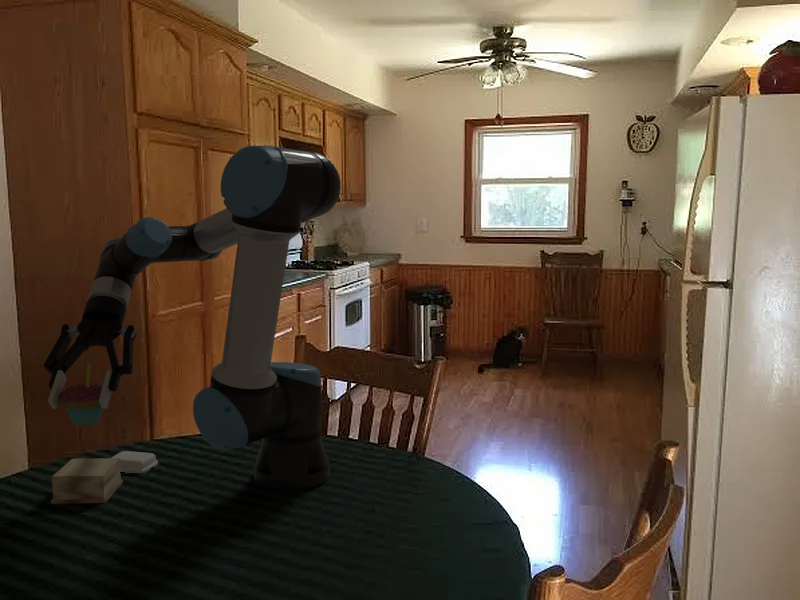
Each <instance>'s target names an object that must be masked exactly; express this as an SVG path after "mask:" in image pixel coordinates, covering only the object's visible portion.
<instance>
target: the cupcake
mask: <svg viewBox="0 0 800 600" xmlns="http://www.w3.org/2000/svg"><path fill="white" fill-rule="evenodd" d="M91 373H92V363H91V359H89V361H88V363H87V365H86V378H85V379H86V380H85V383H81V384H79V383H78V384H73V385H71V386H69V387H68V388H66V389H64V390H63V392H62V394H61V395H60V396H59V399H58V402H59V406H61V407H62V408H63V409H65V411H66V412H67V414H68V417H69V418H70V422H71V423H72V424H73V425H75V426H86V425H87V426H88V425H93V424H96V423H98V422H99V421H100V420H101V417H102V413H103V411H104V409H103V408H102V407H101V405H100V403H99V398H100V394H101V391H102V387H103V385H99V384H97V383H91Z"/></svg>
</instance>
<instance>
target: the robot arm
mask: <svg viewBox="0 0 800 600" xmlns="http://www.w3.org/2000/svg"><path fill="white" fill-rule="evenodd" d="M341 185H342V182H341V177H340V175H339V172H338V170H337V167H336V166H335V164H334V163H332V161H331V160H329V158H328V157H326V156H324V155H323V154H320V153H319V152H315V151H310V150H302V149H301V150H300V149H294V148H293V149H292V148H287V147H281V146H280V147H279V146H273V145H267V144H264V145H256V144H255V145H249V146H244V147H242V148H240V149H239V150H238V151H237V152H236V153H234V154H233V155H231V157H230V158H229V159H228V160H227V163H226V164H225V166H224V168H223V171H222V175H221V179H220V195H221V197H222V198H223V201H222V202H223V205H224V206H225V208H224V209H222V210H220V211H217V212H216V213H213V214H212V215H209V216H207V217H204V218H203V219H201V220H199V221H197V222H194V223H192V224H190V225H189V224H188V225H171V226H170V225H167V224H166V223H165V222H164V221H162V220H159V219H157V218H156V217H153V216H147V217H144V218H141V219H140V220H138V221H137V222H136V223H135V224H133V225H131V227H129V228H128V230H127V231H126V233H125V234H123V236H122V237H117V238H115V239H113V238H112V239H110V240H109V241H107V242H106V244H105V245H104V249H103V250H102V251H101V254H100V258H99V262H98V265H97V269H96V272H95V275H94V279H93V283H92V286H91V288H90V291H89V294H88V297H87V301H86V303H85V307H84V309H83V311H82V318H81V321H80V322H79V323H78V324H77V325H72V326H69V324H66V323H65V324H63V325H62V326H61V328H60V331H61V332H60V335H59V336H58V339H57V340H56V342H55V344H54V346H53V347H52V350H50V353H49V354H48V356H47V358H46V359H45V361H44V364H43V367H44V369H45V370H46V371H47V373H48V374H49V375H50V380H49V382H48V388H49V389H50V394H49V396H48V400H47V403H48V404H49V406H50V407H51V408H52V409H53V410H55V409H56V410H57V409H58V407H59V406H60V404H59V402H58V399H59V396H60V395H61V394H62V392H63V391H64V390H65V386H66V383H67V379H68V378H67V376H66V373H67V372H68V370H69V369H70V368H71V367H72V366H73V365H74V363H75V362H76V361H77V360H78V358H80V357H81V356H82V354H83V353H84V352H86V351H88V349H89V348H90V347H97V346H99V347H105V349H106V353H107V357H108V359H109V363H110V368H111V370H106V373H105V376H104V380H103V383H102V391H101V394H100V398H99V403H100V405H101V407H102V408H103V410H107V409H108V406H109V404H110V399H111V396H112V395H111V394H112V392H116V391H117V390H118V387H119V384H120V380H121V377H122V376H124V375H128V376H129V375H131V374H132V373H133V364H134V363H133V362H134V341H135V339H136V337H137V335H138V333H137V331H136V328H135V327H134V324H133V325H132V324H131V325H128V326H123V324H124V322H125V318H126V314H127V309H128V306H129V301H130V298H131V295H132V292H133V286H134V283H135V280H136V278H137V277H138V275H139V274H140V273H142V272H143V271H144V270H145V269H146V268H148V267H149V266H150V265H151V264H157V263H175V262H176V263H177V262H178V263H179V262H191V261H193V262H194V261H196V262H197V261H199V262H204V261H208V260H215V259H216V258H218V257H219V256H220V254H221V253H222V251H223V250H225V249H228V248H231V247H233V246H237V247H236V252H235V261H234V267H233V269H234V270H233V276H232V282H231V283H232V284H231V291H230V297H229V298H230V299H229V305H228V306H229V307H228V313H227V321H226V329H225V337H224V342H223V343H224V344H223V351H222V359H221V362H220V363H218V364H217V365H215V366H214V367H213V368H212V370H211V374H210V381H209V386H208V387H203V388H202V389H201V390H199V392H197V393H196V395H195V397H194V399H193V404H192V413H193V419H194V423H195V425H196V428H197V429H198V431H199V433H200V435H201V436H202V438H203V440H205V442H207V443H208V444H209V445H210V446H211V447H213V448H215V449H216V450H221V451H229V450H234V449H235V448H243V447H245V446H246V445H248V444H251V443H254V442H257V441H260V440H262V441H261V444H260V447H259V451H258V454H257V457H256V460H255V463H254V467H253V478H254V479H253V480H254V481H255V483H256V484H258V485H260V486H261V487H264V488H268V489H271V490H278V491H279V490H280V491H296V490H297V491H298V490H304V489H309V488H313V487H316V486H318V485H321V484H323V483H324V482H326V481H327V480H328V479H329V478H330V472H331V469H330V468H331V467H330V461H329V457H328V454H327V453H326V452H327V451H326V448H325V445H324V443H323V440H322V389H323V385H322V379H321V378H322V376H321V371H320V370H319V369H318V367H316V366H313V365H311V364H306V363H300V362H287V361H272V358H273V357H272V356H273V350H274V344H275V340H276V339H275V338H276V331H277V323H278V319H279V318H278V317H279V311H280V305H281V297H282V293H283V292H282V291H283V286H284V285H283V284H284V278H285V274H286V273H285V272H286V265H287V259H288V254H289V253H288V252H289V245H290V241H291V240H292V239H293V238H295V237H296V236H297V235H299V234H300V231H301V227H302V223H305V222H307V221H311V220H313V219H316V218H317V217H321V216H323V215H325V214H326V213H328V212H330V211H331V209H332V208H334V206H336V204H337V202H338V200H339V198H340V195H341V189H342V187H341ZM78 333H79V334H78ZM76 334H78V335H77V336H76ZM120 335H122V337H123V343H122V344H123V346H122V350H123V351H122V364H121V365H120V362H119V358H118V355H117V351H116V345H115V342H114V341H115V340H116V339H117V338H118V337H119V336H120ZM75 337H76V338H75ZM72 339H75V340H74V342H73V344H72V345H71V343H72ZM70 345H71V346H70ZM69 346H70V347H69Z"/></svg>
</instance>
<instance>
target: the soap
mask: <svg viewBox="0 0 800 600" xmlns="http://www.w3.org/2000/svg"><path fill="white" fill-rule="evenodd" d="M111 458H120V472H125V473H124V474H129V473H139V474H138V475H142V474H141V473H144V474H146V473H147V471H148V472H149V471H151V469H152V468H156V466H158V465H159V461H158V460H157V457H156V455H155V454H154V453H151V452H141V451H140V452H139V451H130V450H129V451H128V450H126V451H125V450H122V451H120V452H118V453H116V454H115V455H113V456H112V457H111ZM145 472H146V473H145Z"/></svg>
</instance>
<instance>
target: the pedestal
mask: <svg viewBox="0 0 800 600" xmlns="http://www.w3.org/2000/svg"><path fill="white" fill-rule="evenodd" d="M121 474H122V473H120V458H112V457H109V458H108V457H106V458H103V457H102V458H100V457H99V458H71V459H69V461H68V462H67V463H65V464H64V465H63V466H62V467H61V468H59V470H57V472H55V473H54V474H52V476H51V481H52V482H51V483H52V499H51V500H50V504H52V505H53V504H56V505H57V504H58V505H59V504H106V503H107V502H108V500H110V498H111V497H112V496H113V494H115V493H116V491H117V490H118V489H119V488H120V486H121V485H122V484H123V483H124V479H123V478H122V479H121V476H122V475H121Z"/></svg>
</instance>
